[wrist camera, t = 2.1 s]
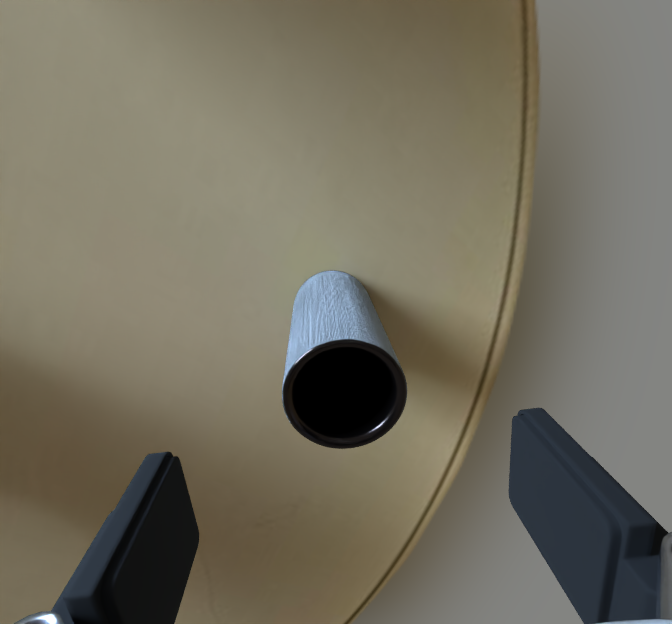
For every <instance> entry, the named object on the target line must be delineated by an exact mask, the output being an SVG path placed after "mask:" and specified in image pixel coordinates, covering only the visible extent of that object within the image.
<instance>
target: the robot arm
mask: <svg viewBox="0 0 672 624" xmlns="http://www.w3.org/2000/svg"><path fill="white" fill-rule="evenodd" d="M511 437H512V438H511V455H510V475H509V498H510V502H511V504H512V506H513V508H514V510H515V511H516V513H517V515H518V516H519V518H520V519H521V521H522V523H523V524H524V526H525V528H526V529H527V531H528V533H529V534H530V536H531V538H532V539H533V541H534V542H535V544H536V546H537V547H538V549H539V551H540V552H541V554H542V556H543V557H544V559H545V560H546V562H547V564H548V565H549V567H550V569H551V570H552V572H553V573H554V575H555V577H556V578H557V580H558V582H559V583H560V585H561V587H562V588H563V590H564V592H565V593H566V595H567V597H568V598H569V600H570V601H571V603H572V605H573V606H574V608H575V610H576V611H577V613H578V615H579V616H580V618H581V619H582V621H583V622H584V624H672V532H670V533H668V532H667V531H666V530H665V529H664V528H663V527H662V526H661V525H660V524H659V523H658V522H657V521H656V520H655V519H654V518H653V517H652V516H651V515H650V514H649V513H648V512H647V511H646V510H645V509H644V508H643V507H642V506H641V505H640V504H639V503H638V502H637V501H636V500H635V499H634V498H633V497H632V496H631V495H630V494H629V493H628V492H627V491H626V490H625V489H624V488H623V487H622V486H621V485H620V484H619V483H618V482H617V481H616V480H615V479H614V478H613V477H612V476H611V475H610V474H609V473H608V472H607V471H606V470H605V469H604V468H603V467H602V466H601V465H600V464H599V463H598V462H597V461H596V460H595V459H594V458H593V457H591V456H590V455H589V454H588V453H587V452H586V451H585V450H584V449H583V448H582V447H581V446H580V445H579V444H578V443H577V442H576V441H575V440H574V439H573V438H572V437H571V436H570V435H569V434H568V433H567V432H566V431H565V430H564V429H563V428H562V427H561V426H560V425H559V424H558V423H557V422H556V421H555V420H554V419H553V418H552V417H551V416H550V415H549V414H548V413H547V412H546V411H545V410H544V409H542V408H533V409H525V410H520V411H519V412H518V416H514V417H513V419H512V435H511ZM198 544H199V530H198V526H197V522H196V519H195V515H194V511H193V507H192V504H191V500H190V496H189V493H188V489H187V485H186V481H185V478H184V474H183V470H182V466H181V463H180V460H179V458H178V457H177V456H174V457H173V455H172V453H171V452H162V453H154V454H148V455H147V456H146V457H145V459H144V460H143V462H142V464H141V465H140V467H139V469H138V471H137V472H136V474H135V476H134V477H133V479H132V481H131V482H130V484H129V486H128V487H127V489H126V491H125V493H124V494H123V496H122V498H121V499H120V501H119V503H118V504H117V506H116V508H115V510H113V511H112V512H111V513H110V514H109V515H108V517H107V518H106V520H105V522H104V523H103V525H102V527H101V528H100V530H99V532H98V533H97V535H96V537H95V538H94V540H93V542H92V543H91V545H90V547H89V548H88V550H87V552H86V553H85V555H84V557H83V558H82V560H81V562H80V564H79V565H78V567H77V569H76V570H75V572H74V574H73V575H72V577H71V579H70V580H69V582H68V584H67V585H66V587H65V589H64V590H63V592H62V594H61V595H60V597H59V599H58V600H57V602H56V604H55V605H54V607H53V609H52V610H51V611H46V612H38V613H35V614H32V615H29V616H27V617H25V618H23V619H21V620H19V621H17V622H15V623H14V624H174V623H175V620H176V616H177V613H178V610H179V607H180V603H181V600H182V597H183V594H184V590H185V587H186V584H187V580H188V577H189V574H190V571H191V567H192V564H193V561H194V558H195V554H196V551H197V548H198Z"/></svg>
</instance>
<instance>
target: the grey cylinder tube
mask: <svg viewBox="0 0 672 624" xmlns="http://www.w3.org/2000/svg"><path fill="white" fill-rule="evenodd" d="M406 398H407V383H406V379H405V375H404V373H403V370H402V368H401V366H400V363H399V361H398V359H397V357H396V354H395V352H394V350H393V348H392V346H391V343H390V341H389V339H388V337H387V334H386V332H385V330H384V328H383V326H382V323H381V321H380V319H379V317H378V315H377V312H376V310H375V308H374V306H373V303H372V301H371V299H370V297H369V295H368V293H367V291H366V289H365V288H364V286H363V285H362V284H361V283H360V282H359V281H358V280H357V279H356V278H355V277H353V276H351V275H349V274H347V273H344V272H340V271H325V272H321V273H318V274H316V275H314V276H312V277H311V278H309V279H308V280H307V281H306V282H305V283H304V284H303V285H302V286H301V288H300V289H299V291H298V293H297V296H296V299H295V302H294V308H293V316H292V323H291V330H290V337H289V344H288V351H287V358H286V365H285V372H284V380H283V387H282V402H283V407H284V411H285V413H286V416H287V418H288V420H289V421H290V423H291V424H292V426H293V427H294V428H295V429H296V430H297V431H298V432H299V433H300V434H301V435H303V436H304V437H305V438H307V439H308V440H310V441H312V442H314V443H316V444H319V445H322V446H325V447H330V448H338V449H346V448H355V447H359V446H363V445H366V444H369V443H371V442H373V441H375V440H377V439H379V438H380V437H382V436H383V435H384V434H386V433H387V432H388V431H389V430H390V429H391V428H392V427H393V426H394V425H395V424H396V422H397V421H398V419H399V418H400V416H401V414H402V412H403V410H404V407H405V403H406Z"/></svg>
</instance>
